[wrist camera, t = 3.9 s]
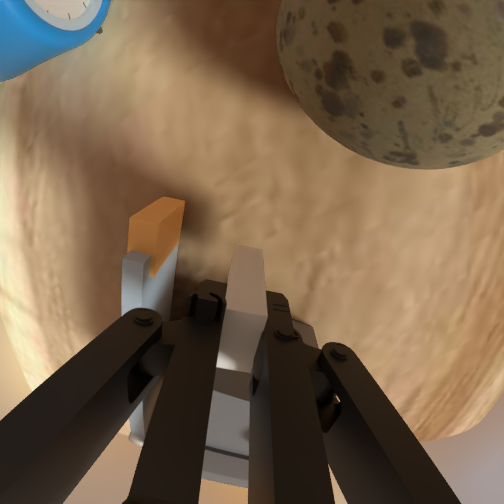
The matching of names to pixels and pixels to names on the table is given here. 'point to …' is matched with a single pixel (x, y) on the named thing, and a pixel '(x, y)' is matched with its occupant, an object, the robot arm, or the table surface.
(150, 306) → the side door
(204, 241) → the table surface
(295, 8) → the decorative egg
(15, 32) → the alarm clock
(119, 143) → the table surface
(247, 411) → the camera body
